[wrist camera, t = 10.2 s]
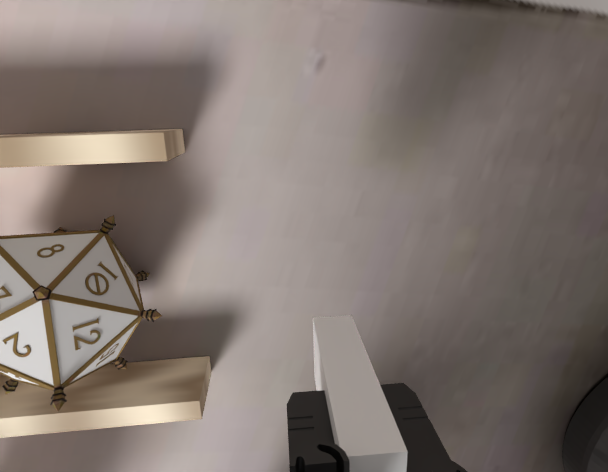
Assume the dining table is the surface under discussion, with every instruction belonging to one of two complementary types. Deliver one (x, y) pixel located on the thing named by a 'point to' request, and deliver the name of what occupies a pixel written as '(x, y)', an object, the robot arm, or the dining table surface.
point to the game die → (65, 307)
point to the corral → (108, 380)
